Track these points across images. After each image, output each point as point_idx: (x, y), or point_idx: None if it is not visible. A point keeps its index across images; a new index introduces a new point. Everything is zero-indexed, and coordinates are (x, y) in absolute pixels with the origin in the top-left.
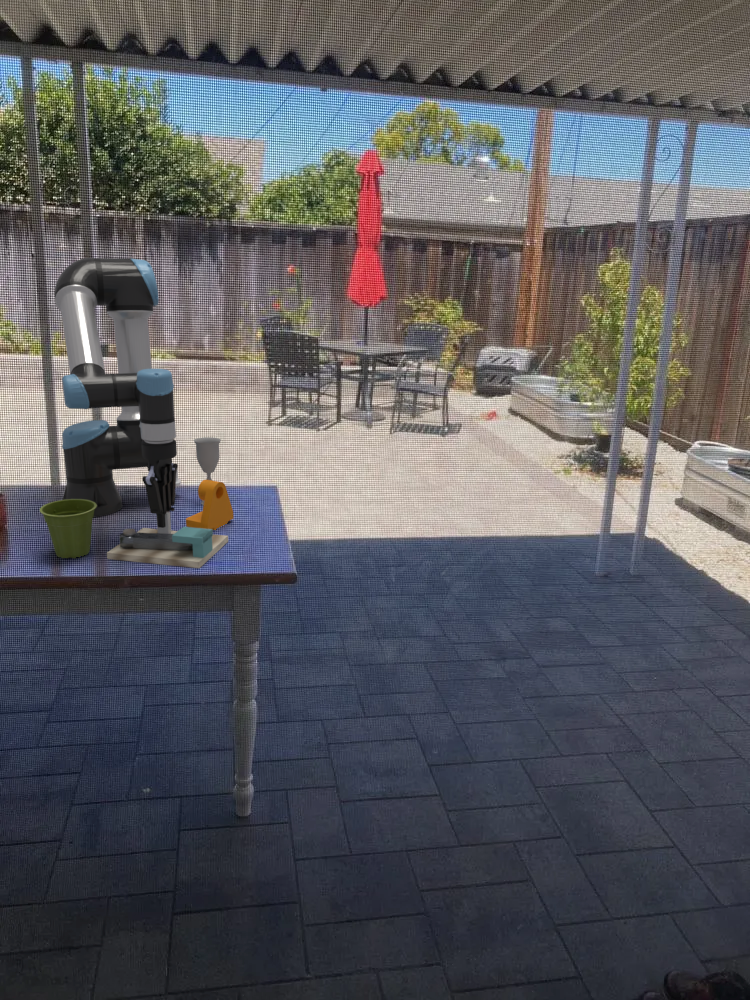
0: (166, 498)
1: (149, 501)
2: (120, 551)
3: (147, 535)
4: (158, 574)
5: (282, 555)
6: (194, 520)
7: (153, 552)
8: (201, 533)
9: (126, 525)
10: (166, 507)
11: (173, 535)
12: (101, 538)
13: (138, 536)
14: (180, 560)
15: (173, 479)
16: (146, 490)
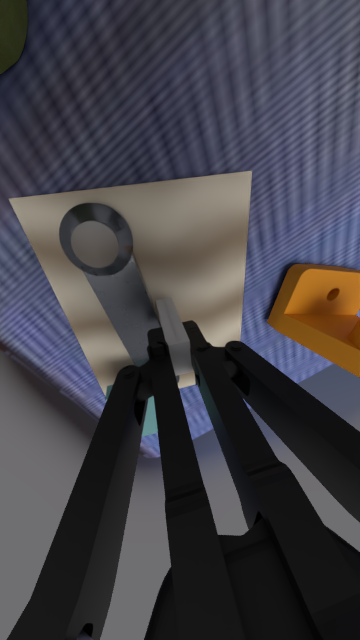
0: (207, 407)
1: (99, 428)
2: (49, 238)
3: (125, 298)
4: (43, 366)
5: (202, 432)
6: (296, 295)
7: (101, 319)
8: (150, 426)
9: (309, 36)
10: (196, 373)
11: (106, 401)
12: (159, 6)
13: (104, 279)
14: (99, 381)
15: (314, 474)
16: (59, 526)
